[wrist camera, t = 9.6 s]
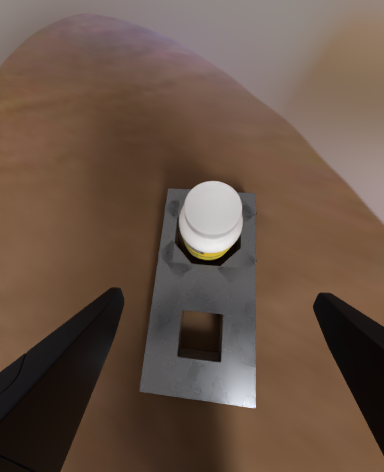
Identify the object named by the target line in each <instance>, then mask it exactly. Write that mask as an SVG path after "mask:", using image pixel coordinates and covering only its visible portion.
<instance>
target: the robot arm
mask: <svg viewBox="0 0 384 472" xmlns="http://www.w3.org/2000/svg"><path fill="white" fill-rule="evenodd" d="M123 306H124V297H123V294H122V290H121V288H114V287H113V288H110V289H109V290H107V291H106V292H105V293H103V294H102V295H101V296H99V297H98V298H97V299H96V300H94V301H93V302H92V303H90V304H89V305H88V306H86V307H85V308H84V309H82V310H81V311H80V312H78V313H77V314H76V315H75V316H73V317H72V318H71V319H69V320H68V321H67V322H65V323H64V324H63V325H61V326H60V327H59V328H58V329H56V330H55V331H54V332H52V333H51V334H50V335H48V336H47V337H46V338H44V339H43V340H42V341H41V342H39V343H38V344H37V345H35V346H34V347H33V348H31V349H30V350H29V351H28V352H27V353H25V354H23V355H22V356H21V357H19V358H18V359H17V360H16V361H14V362H13V363H12V364H10V365H9V366H8V367H6V368H5V369H4V370H2V371H1V372H0V472H60V471H61V469H62V466H63V464H64V461H65V459H66V456H67V454H68V451H69V449H70V446H71V444H72V441H73V439H74V437H75V434H76V432H77V429H78V427H79V424H80V422H81V419H82V417H83V414H84V412H85V409H86V407H87V404H88V402H89V399H90V397H91V394H92V392H93V389H94V387H95V384H96V382H97V379H98V377H99V375H100V372H101V370H102V367H103V365H104V362H105V360H106V357H107V355H108V352H109V350H110V347H111V345H112V342H113V340H114V337H115V334H116V330H117V327H118V324H119V320H120V317H121V313H122V310H123ZM313 310H314V312H315V315H316V318H317V320H318V323H319V325H320V328H321V330H322V333H323V335H324V338H325V340H326V343H327V345H328V347H329V349H330V351H331V353H332V355H333V357H334V359H335V361H336V363H337V365H338V367H339V369H340V371H341V373H342V375H343V377H344V379H345V381H346V383H347V385H348V387H349V389H350V391H351V393H352V394H353V396H354V398H355V400H356V402H357V404H358V406H359V408H360V410H361V412H362V414H363V416H364V418H365V420H366V422H367V424H368V426H369V428H370V430H371V432H372V434H373V436H374V438H375V440H376V442H377V444H378V446H379V448H380V450H381V451H382V453H383V455H384V327H383V326H382V325H380V324H378V323H377V322H375V321H374V320H372V319H371V318H369V317H367V316H366V315H364V314H363V313H361V312H360V311H358V310H357V309H355V308H353V307H352V306H350V305H349V304H347V303H346V302H344V301H342V300H341V299H339V298H338V297H336V296H335V295H333V294H331V293H319V294H318V296H317V298H316V300H315V302H314V305H313Z"/></svg>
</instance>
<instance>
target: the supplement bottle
mask: <svg viewBox="0 0 384 472" xmlns="http://www.w3.org/2000/svg"><path fill="white" fill-rule="evenodd" d="M242 226H243V217H242V203H241V199H240V197H239V195H238V194H237V192H236V191H235V190H234V189H233V188H232V187H230V186H229V185H227V184H225V183H222V182H218V181H208V182H204V183H201V184H199V185H197V186H195V187H194V188H193V189H192V190H191V191H190V192H189V193H188V195H187V197H186V199H185V203H184V206H183V207H182V209H181V212H180V216H179V228H180V232H181V235H182V238H183V240H184V243H185V245H186V248H187V250H188V251H189V252H190V254H191V255H192V256H194V257H195V258H197V259H199V260H202V261H214V260H216V259H219V258H220V257H222V256H223V255H224V254H225V253H226V252H227V251H228V250H229V249H230V248H231V246H232V245H233V244H234V243H235V242H236V241H237V239H238V237H239V236H240V234H241V231H242Z"/></svg>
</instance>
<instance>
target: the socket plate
mask: <svg viewBox="0 0 384 472" xmlns="http://www.w3.org/2000/svg"><path fill="white" fill-rule="evenodd" d="M190 191H191V190H190V189H189V188H188V189H170V188H168V194H167V201H166V206H165V207H164V208H165V215H164V222H163V229H162V236H161V243H160V250H159V252H158V254H159V257H158V264H157V271H156V278H155V285H154V292H153V299H152V306H151V313H150V320H149V327H148V334H147V341H146V348H145V355H144V362H143V369H142V376H141V383H140V390H139V392H145V393H152V394H159V395H166V396H173V397H180V398H187V399H194V400H201V401H208V402H215V403H222V404H229V405H236V406H243V407H249V408H256V325H255V262H256V261H257V260H256V259H255V215H256V214H257V213H256V212H255V193H240V192H237V194H238V195H239V197H240V199H241V203H242V217H243V226H242V231H241V234H240V236H239V237H238V239H237V242H236V253H235V254H234V255H232V256H231V257H230V258H229V259H228V260H227V261H225V262H224V263H223V264H222V265H221V266H211V265H199V264H191V262H190V261H189V260H188V259H187V258H186V256H185V255H184V254H183V253H182V252H181V250H180V249H179V248H178V238H179V230H180V228H179V216H180V212H181V209H182V207H183V206H184V203H185V199H186V197H187V195H188V193H189V192H190ZM184 310H187V311H196V312H205V313H215V314H220V333H219V352H212V351H204V350H196V349H188V348H180V344H181V333H182V323H183V313H184Z"/></svg>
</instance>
